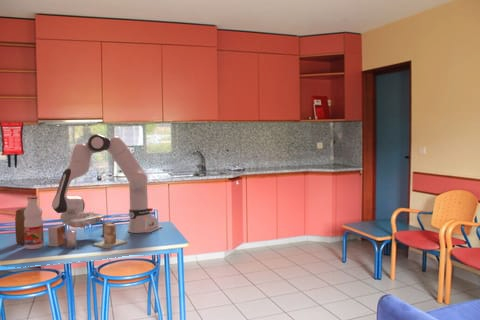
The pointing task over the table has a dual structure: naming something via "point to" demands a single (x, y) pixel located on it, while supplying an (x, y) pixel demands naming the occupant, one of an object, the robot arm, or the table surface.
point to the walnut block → (106, 224)
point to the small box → (57, 235)
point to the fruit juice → (33, 224)
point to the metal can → (71, 239)
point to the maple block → (110, 233)
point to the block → (20, 226)
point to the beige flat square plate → (106, 245)
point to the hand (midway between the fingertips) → (96, 222)
